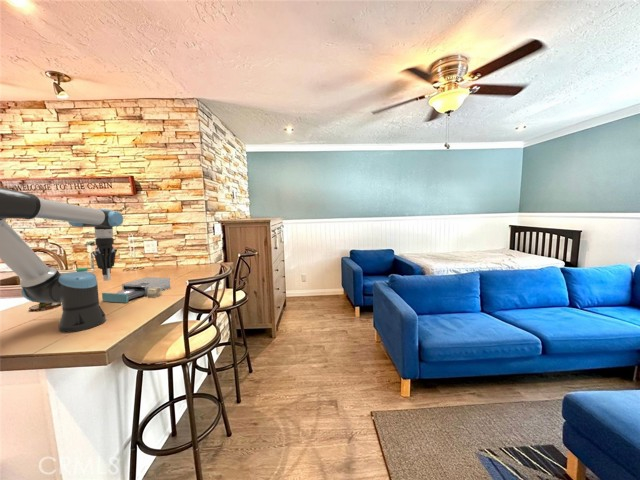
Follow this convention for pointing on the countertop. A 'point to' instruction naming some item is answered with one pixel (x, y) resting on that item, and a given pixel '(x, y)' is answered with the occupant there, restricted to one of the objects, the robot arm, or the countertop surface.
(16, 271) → the robot arm
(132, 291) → the disc
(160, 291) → the block
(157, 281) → the box
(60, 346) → the countertop surface
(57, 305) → the burger
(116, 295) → the tray
